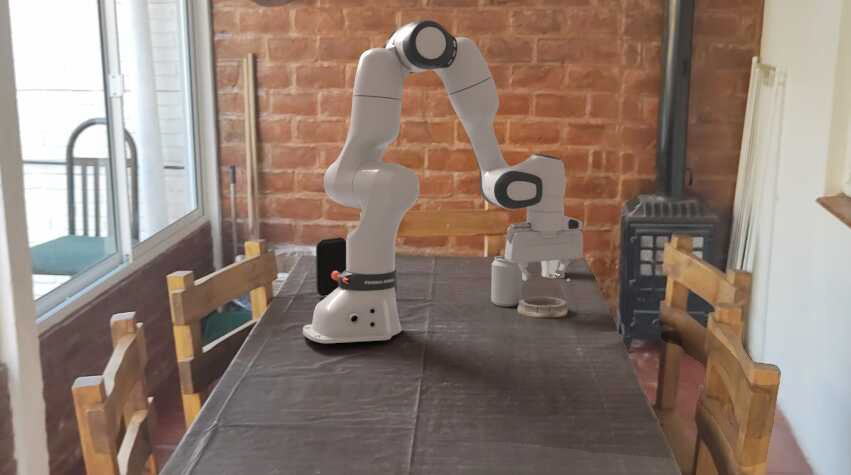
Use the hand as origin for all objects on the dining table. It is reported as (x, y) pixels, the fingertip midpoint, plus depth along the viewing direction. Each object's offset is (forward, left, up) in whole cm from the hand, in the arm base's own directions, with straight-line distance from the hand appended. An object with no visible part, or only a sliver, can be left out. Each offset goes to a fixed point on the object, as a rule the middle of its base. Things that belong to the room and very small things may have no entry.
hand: (543, 278), depth 218 cm
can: (-4, +10, -8) cm, 14 cm away
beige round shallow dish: (0, 0, -8) cm, 8 cm away
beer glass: (+20, +27, -8) cm, 35 cm away
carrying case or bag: (-40, +38, -8) cm, 56 cm away
